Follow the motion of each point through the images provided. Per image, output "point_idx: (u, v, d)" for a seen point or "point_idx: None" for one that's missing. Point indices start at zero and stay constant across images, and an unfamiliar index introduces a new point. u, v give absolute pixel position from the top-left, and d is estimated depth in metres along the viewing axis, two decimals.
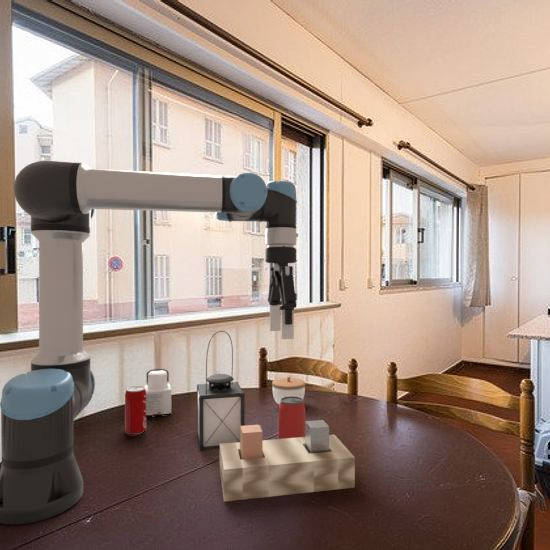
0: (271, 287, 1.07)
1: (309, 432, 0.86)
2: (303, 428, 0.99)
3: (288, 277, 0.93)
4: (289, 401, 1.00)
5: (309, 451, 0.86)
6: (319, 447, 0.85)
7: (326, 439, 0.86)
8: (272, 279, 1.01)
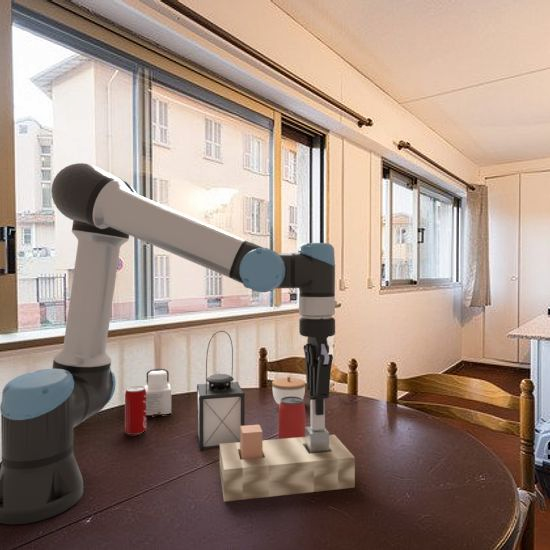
0: (308, 368, 0.90)
1: (309, 438, 0.86)
2: (303, 428, 0.99)
3: (325, 367, 0.82)
4: (289, 401, 1.00)
5: None
6: None
7: (326, 444, 0.86)
8: (308, 353, 0.88)
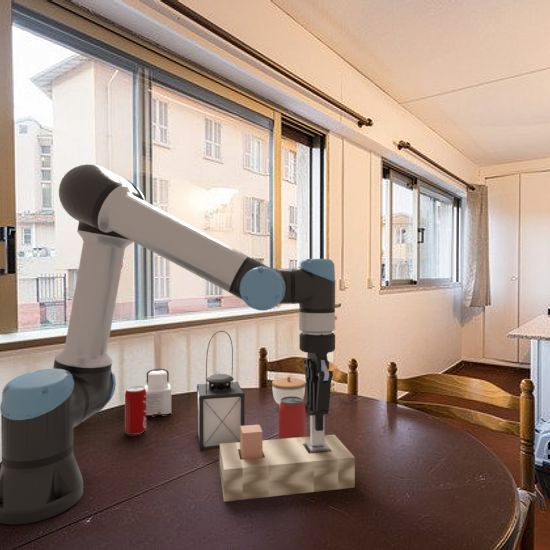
0: (308, 383, 0.90)
1: None
2: (303, 428, 0.99)
3: (325, 384, 0.82)
4: (289, 401, 1.00)
5: None
6: None
7: None
8: (308, 369, 0.88)
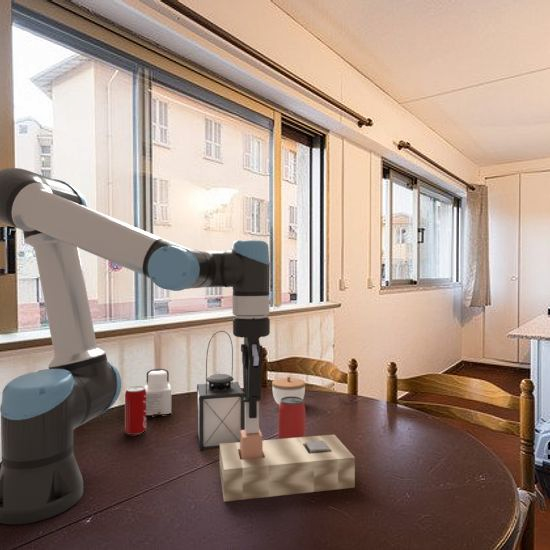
0: (245, 370, 0.88)
1: None
2: (303, 428, 0.99)
3: (256, 369, 0.79)
4: (289, 401, 1.00)
5: None
6: None
7: None
8: (242, 354, 0.85)
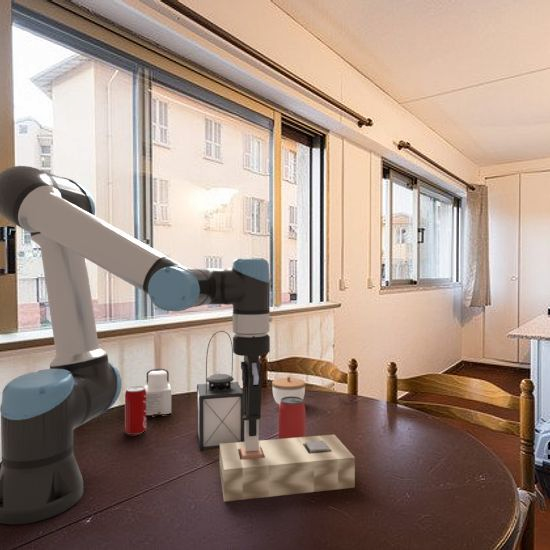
0: None
1: None
2: (303, 428, 0.99)
3: (256, 388, 0.79)
4: (289, 401, 1.00)
5: None
6: None
7: None
8: (242, 372, 0.85)
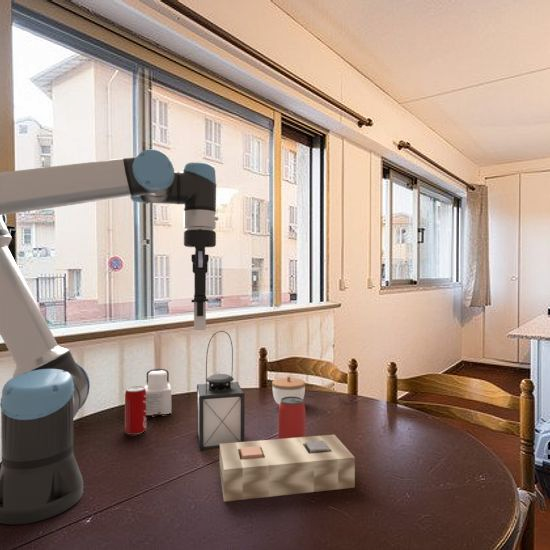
0: None
1: None
2: (303, 428, 0.99)
3: (201, 270, 0.93)
4: (289, 401, 1.00)
5: None
6: None
7: None
8: None
